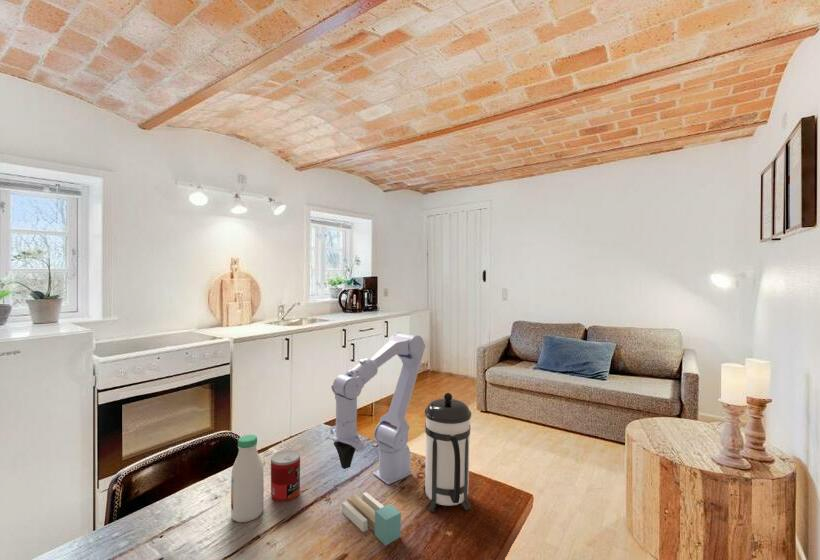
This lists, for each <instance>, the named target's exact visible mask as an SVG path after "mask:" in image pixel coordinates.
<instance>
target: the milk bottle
mask: <svg viewBox="0 0 820 560" xmlns="http://www.w3.org/2000/svg"><path fill="white" fill-rule="evenodd" d="M257 446H258V436H257V435H256V434H246V435H242V436H240V437H239V438H238V440H237V449H238V452H237V456H236V458H235V461H234V463H233V465H232V469H231V478H230V480H231V483H230V487H231V488H230V491H231V492H230V493H231V494H230V498H231V499H230V506H231V507H230V509H231V511H230V513H231V518H232V520H233V521H235V522H237V523H247V522H251V521H254V520H256V519H257V518H259V517H260V516H261V515H262V513H263V511H264V490H265V489H264V464H263V461H262V459H261V456H260V455H259V453H258V450H257Z"/></svg>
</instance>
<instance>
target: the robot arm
mask: <svg viewBox="0 0 820 560" xmlns="http://www.w3.org/2000/svg"><path fill="white" fill-rule="evenodd" d="M425 348H426V344H425V342H424V339H423V337H422V336H421V335H414V334H409V333H404V332H400V331H397V332H395V333H393V334H392V335H391V336H389V338H388V342H386V343H385V345H383V346H382V347H381V348H380V349H379V350H378V351H377V352H376V353H375V354H374V355H373V356H372V357H371V358H361V359H360V360H359V361H358V363H357V364H356V365H355V366H353V367H352V368H351V369H349V370H347V372H345V373H343V374H339V375H337V376H336V377H335V379H334V380H333V384H331V390H332V393H333V394H334V399H335V425H333V426H330V433H329V434H330V435H333V436H332V438H331V440H332V441H333V445H334V447H335V450H336V451H337V455H338V457H339V462H340V466H341V468H342V469H343V470H346V469H349V468H350V467H352V462H353V459H354V454H355V452H356V453H358V452H361V451H364V449H365V448H364V444H365V443H364V442H363V441H362V439H361V438H360V436H359V434H358V432H357V430H358V429H357V428H358V427H357V426H358V424H357V423H358V419H357V418H358V417H357V416H358V397H359V396H360V394H361V392H362V390H363V388H364V387H365V385H366V384H367V383H368V382H369V381H371V379H373V378H374V377H375V376H376V375H377V374H378V371H379V369H378V368H380V367H381V366H382V365H384V364H386V363H387V362H388V361H389V360H391V359H392V358H394V357H395V356H396V355H397V357H399V359H400V360H401V363H402V366H401V370H400V373H399V377H398V380H397V382H396V386H395V388H394V389H395V390H394V392H393V396H392V398H391V402H390V406H389V408H388V412H387V413H385V414H384V415H381V417H380V419H379V422H378V424H377V425H376V426H375V428H374V432H373V437H374V439H375V441H376V442H377V446H378V447H379V448H378V469H377V470H375V471H373V473H372V475H374V476H375V477H377V478H378V479H379V480H381V481H382V482H384V483H385V484H386V485H390V484H393V483H395V482H397V481H401V480H402V479H404V478H407V477H408V476H411V475H412V471H411V449H410V448H409V446H408V440H409V430H410V425H409V423H408V421H407V419H406V414H407V412H408V407H409V404H410V401H411V397H412V395H413V392H414V387H415V384H416V381H417V378H418V374H419V371H420V368H421V364H422V362H421V361H422V359H423V355H424V352H425Z"/></svg>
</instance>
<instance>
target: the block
mask: <svg viewBox="0 0 820 560" xmlns="http://www.w3.org/2000/svg"><path fill="white" fill-rule="evenodd" d="M383 506H384V507H382V508H380V509H378V510H376V511H375V532H374V537H376V538H377V539H378V540H379V541H381V543H382V544H383V545H385V546H387V545H389V544H391V543H392V542H394V541H396V540H399V538H401V534H402V533H401V532H402V531H401V529H402V525H401V523H402V521H401V520H402V519H401V518H402V513H401V512H400V511H399V510H398V509H397V508H396V507H394V506H393V505H392V504H391V503H388V504H386V505H383Z"/></svg>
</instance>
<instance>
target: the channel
mask: <svg viewBox="0 0 820 560" xmlns="http://www.w3.org/2000/svg"><path fill="white" fill-rule="evenodd" d="M361 499H362V500H363V501H364V502H365V503H366V504H367V505H369V506H370V507H371V508H372V509H373V510H374V511H376V510H378V509H380V508H382V507H384V506H385V505H383V504H382V503H381V502H380V501H378V500H377V499H375V498H374V496H373V495H371V494H370V493H368V492H367V491H365V492H363V493H362V497H361ZM341 513H342V514H343V515H344V516H345V517H346V518H348V519H349V520H350V522H352V523H353V524H354V525H355V526H356V527H357V528H358V529H359V530H360V531H362V533H365V532H367V531H368V525H367V519H366V518H365V517H363V516H362V515H361V514H360V513H359V512H358V511H357V510H356V509H354V508H353V507H352V506H351V505H350V504H349V503H348V502H347V500H345V501H343V502H341Z"/></svg>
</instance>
